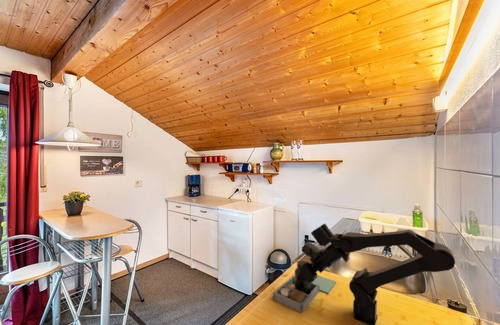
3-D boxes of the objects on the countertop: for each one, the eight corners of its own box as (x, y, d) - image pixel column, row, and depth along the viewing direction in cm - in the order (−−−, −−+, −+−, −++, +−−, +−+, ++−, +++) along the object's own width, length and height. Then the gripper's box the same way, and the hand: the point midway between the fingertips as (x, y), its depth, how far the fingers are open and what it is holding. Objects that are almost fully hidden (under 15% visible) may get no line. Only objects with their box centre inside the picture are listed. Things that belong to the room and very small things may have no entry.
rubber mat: (336, 282, 98) (336, 281, 98) (328, 294, 89) (328, 292, 89) (312, 274, 105) (312, 273, 105) (302, 284, 96) (302, 283, 96)
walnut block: (304, 303, 83) (305, 292, 83) (300, 308, 80) (300, 297, 80) (295, 299, 86) (295, 288, 86) (290, 304, 83) (290, 293, 83)
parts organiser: (319, 291, 91) (319, 285, 91) (302, 312, 78) (302, 305, 78) (292, 281, 98) (292, 275, 98) (272, 299, 85) (273, 292, 85)
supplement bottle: (309, 288, 93) (310, 259, 93) (312, 298, 86) (313, 267, 86) (293, 287, 94) (294, 258, 94) (295, 296, 87) (295, 266, 87)
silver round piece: (292, 298, 86) (292, 290, 86) (287, 303, 83) (288, 295, 83) (283, 294, 89) (283, 286, 89) (278, 298, 86) (278, 291, 86)
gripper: (323, 232, 95) (298, 251, 102) (305, 243, 80) (277, 265, 87) (341, 255, 90) (314, 273, 97) (326, 272, 75) (295, 292, 82)
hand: (301, 275), depth 91 cm, fingers closed on supplement bottle, 7 cm apart
